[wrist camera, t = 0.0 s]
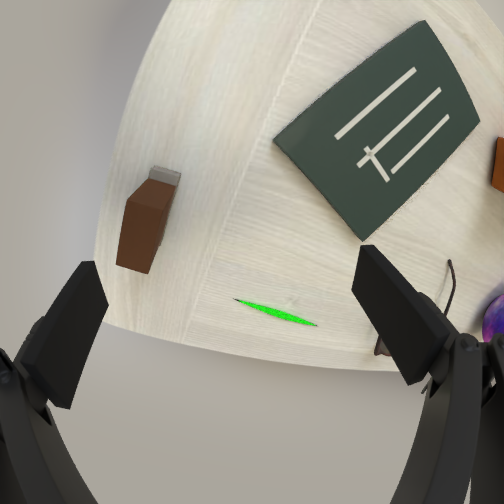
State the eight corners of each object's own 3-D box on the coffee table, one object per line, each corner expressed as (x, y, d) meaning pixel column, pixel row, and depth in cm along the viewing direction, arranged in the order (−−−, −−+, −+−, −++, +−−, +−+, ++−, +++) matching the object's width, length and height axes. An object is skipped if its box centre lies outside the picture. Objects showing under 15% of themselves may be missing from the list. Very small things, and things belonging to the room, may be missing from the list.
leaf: (316, 326, 40) (318, 330, 39) (230, 298, 35) (230, 302, 35) (320, 322, 39) (321, 326, 39) (233, 293, 35) (233, 297, 34)
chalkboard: (419, 21, 19) (425, 19, 18) (474, 119, 26) (480, 121, 25) (272, 140, 26) (274, 141, 25) (358, 238, 33) (362, 242, 32)
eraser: (154, 165, 26) (129, 187, 19) (181, 173, 27) (166, 198, 20) (137, 233, 29) (114, 274, 22) (162, 240, 30) (146, 283, 23)
